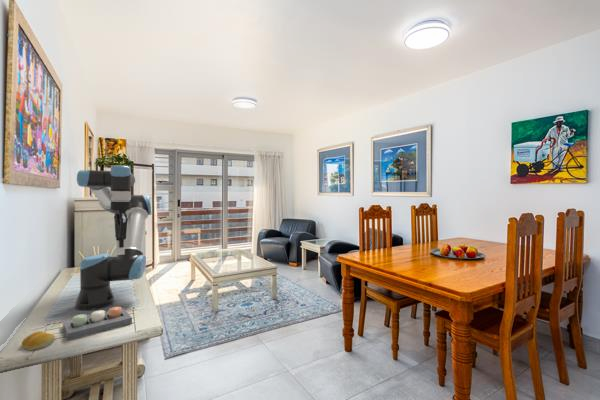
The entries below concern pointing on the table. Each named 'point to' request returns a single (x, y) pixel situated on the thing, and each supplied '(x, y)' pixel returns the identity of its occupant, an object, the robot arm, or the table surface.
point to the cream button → (97, 316)
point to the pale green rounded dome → (79, 320)
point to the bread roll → (38, 340)
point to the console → (96, 325)
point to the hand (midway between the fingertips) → (120, 254)
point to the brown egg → (114, 312)
